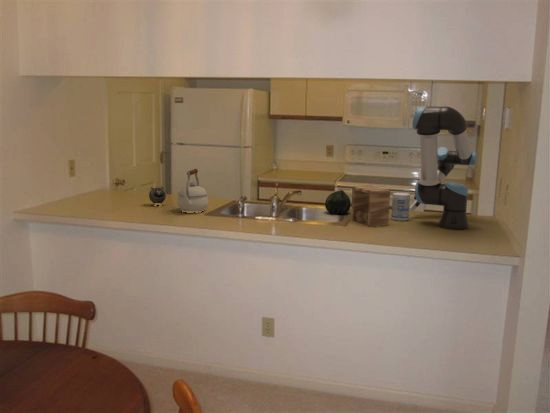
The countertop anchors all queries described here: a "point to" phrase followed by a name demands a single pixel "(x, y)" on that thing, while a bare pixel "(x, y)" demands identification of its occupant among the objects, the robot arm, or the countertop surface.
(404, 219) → the supplement tub
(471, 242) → the countertop surface
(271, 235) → the countertop surface
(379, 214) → the wooden cube
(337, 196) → the squash
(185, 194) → the kettle
